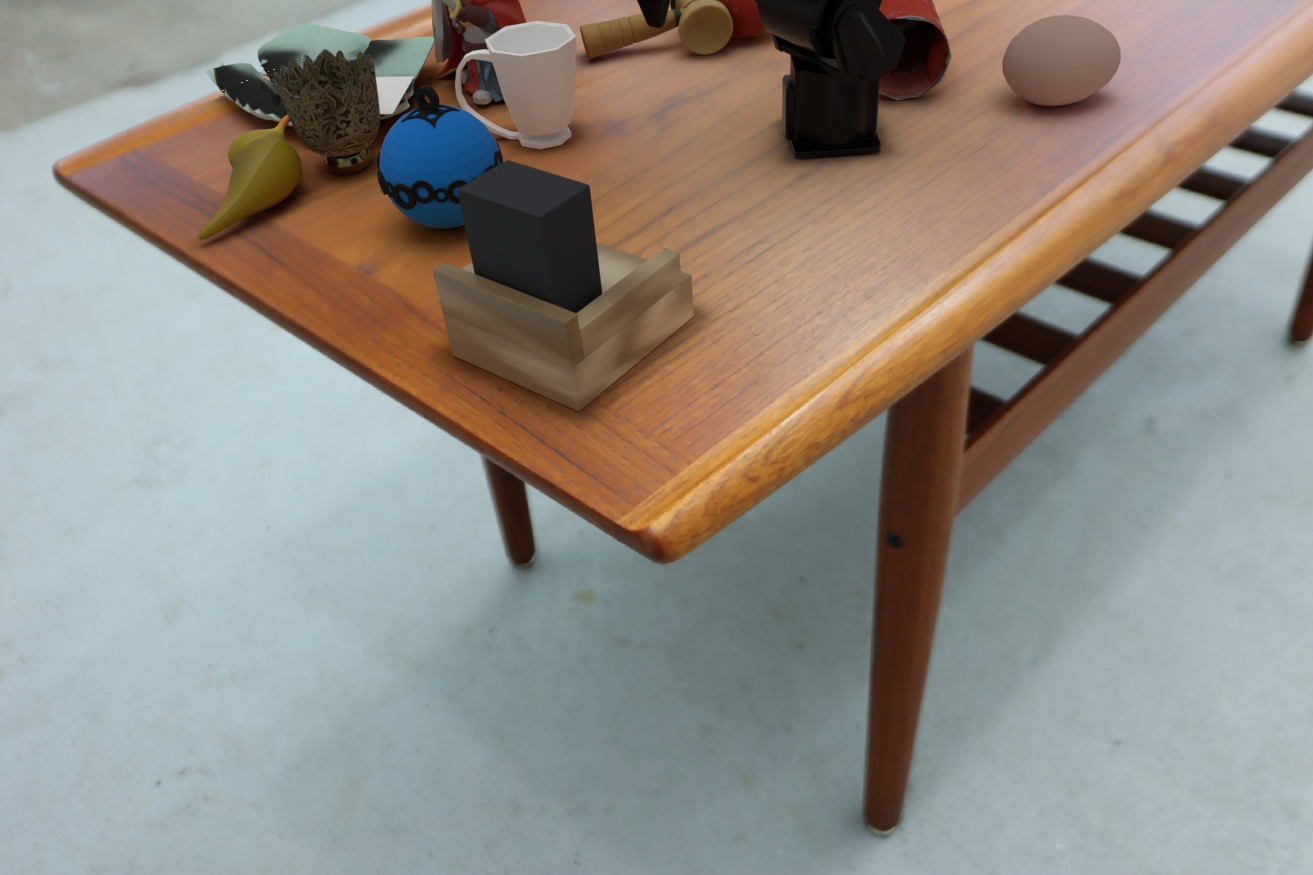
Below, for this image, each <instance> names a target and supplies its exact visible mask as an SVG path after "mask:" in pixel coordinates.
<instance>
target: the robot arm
mask: <svg viewBox="0 0 1313 875" xmlns="http://www.w3.org/2000/svg"><path fill="white" fill-rule="evenodd" d="M636 1H637V4H638V6H639V9H640V11H641V14H643V16H644V18H645V21H646V23H647V25H648V26H650V27H654V28H659V29H660V28H662V27H663V26H664V25H665V21H666V17H667V13H668V10H669V8H670V0H636ZM755 3H756V4H757V7H758V13H759V18H760V20H761V22H762V24H763V26H764V27H765V28H766V30H767V31H768V32H769V33H770V36H771V39H772V43H773V45H774V48H775V51H778V52H781V53H785V54H787V55H789V58H790V59H789V63H790V64H789V74H784V76H782V79H781V80H782V81H781V82H782V83H781V84H782V87H781V88H782V90H781V93H782V94H781V96H782V97H781V99H782V100H781V101H782V102H781V104H782V105H781V107H782V108H781V127H782V130H783V135H784V138H785V140H786V141H787V142H790V146H791V149H792V154H793V156H794V157H795V158H799V159H800V158H801V159H802V158H814V157H815V158H816V157H829V156H830V157H831V156H843V155H858V154H871V153H872V154H873V153H879V152H880V151H881V149H882V142H881V140H880V137H879V135H878V133H877V131H878V116H879V115H878V114H879V103H880V102H879V101H880V100H879V99H880V93H879V88H880V78H882V75H883V74H884V73H885V71H888V70H891V69H894V68H896V67H897V65H898V62H899V59H900V56H901V53H902V50H903V47H904V44H905V40H906V39H905V36H904V35H903V34H902V33H901V32H900V31H899V30H898V29H897V28H896V27H895V26H894V25H893V24H892V23H891V22H890V21H889V20H888V19H887V18H886V16H885V15H884V14H883V13H882V12H881V11H880V10H879V8H880V5H881V3H882V0H755Z"/></svg>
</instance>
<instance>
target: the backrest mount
mask: <svg viewBox="0 0 1313 875" xmlns="http://www.w3.org/2000/svg"><path fill="white" fill-rule="evenodd" d="M596 243H597V252H598V260H599V268H600V277H601V285H602V295H600V296H599V297H598V298H596V299H595V300H594V301H592V302H591V303H590V304H588V305H587V306H586V307H584V308H583V309H582V310H580V311H579V312H578V313H574V312H571V311H569V310H566V309H564V308H561V307H558V306H556V305H553V304H551V303H548V302H546V301H543V300H540V299H538V298H535V297H533V296H530V295H527V294H525V293H522V292H520V291H517V290H515V289H512V288H509V287H507V286H504V285H502V284H499V283H497V282H494V281H491V280H489V279H486V278H484V277H481V276H479V275H476V274H475V273H474V268H473V264H472V261H471V262H470V263H468V264H466V265H465V266H463V267H462V268H461V267H458V266H455V265H452V264H450V263H448V262H443V263H442V264H440V265H438V266H437V267H435V268H434V269H432V273H433V278H434V283H435V286H436V291H437V295H438V299H439V304H440V308H441V312H442V317H443V321H444V324H445V329H446V333H447V337H448V342H449V346H450V351H451V354H452V356H453V357H455V358H457V359H460V360H462V361H463V362H467V363H469V364H470V365H473V366H476V367H478V368H480V369H482V370H484V371H486V372H489V373H491V374H493V375H495V376H497V377H500V378H502V379H504V380H506V381H509V382H511V383H514V384H516V385H518V386H520V387H522V388H524V389H527V390H529V391H531V392H533V393H536V394H538V395H540V396H542V397H545V398H547V399H549V400H551V401H554V402H556V403H558V404H560V405H562V406H565V407H567V408H570V409H571V410H574V411H576V412H578V413H579V412H580V411H582V410H583V409H584V408H585V407H586V406H588V405H589V404H590V403H591V402H592V401H593V400H595V399H596V398H597V397H599V396H600V395H601V394H602V393H604V391H605V390H607V389H608V388H609V387H610V386H612V385H613V384H614V383H615V382H617V381H618V380H619V379H620V378H621V377H623V375H625V374H626V373H628V371H630V370H631V369H632V368H633V367H634V366H636V365H637V364H638V363H639V362H641V360H643V359H644V358H645V357H647V356H648V355H649V354H650V353H652V352H653V351H654V350H656V348H657V347H659V346H660V345H661V344H662V343H663V342H664V341H666V340H667V339H668V338H669V337H670V336H672V335H673V334H674V333H675V332H676V331H678V330H679V329H680V328H681V327H683V326H684V325H685V324H686V323H687V322H689V321H690V320H691V319H692V318H694V316H695V313H694V312H695V311H694V296H693V295H694V294H693V279H692V278H693V277H692V276H693V275H692V274H691V273H688V272H685V271H682V268H681V256H680V253H679V252H678V251H674V250H671V249H668V248H665V247H663V248H662V249H660V250H659V251H658V252H656V253H655V254H653V255H652V256H651V257H650V258H648V259H647V258H644V257H641V256H638V255H635V254H632V253H629V252H626V251H624V250H620V249H618V248H614V247H612V246H609V245H606V244H603V243H601V242H598V241H596Z"/></svg>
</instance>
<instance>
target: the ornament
mask: <svg viewBox="0 0 1313 875" xmlns="http://www.w3.org/2000/svg"><path fill="white" fill-rule="evenodd" d="M413 98H414V102H415V104H416V106H417V107H415V108H414V109H412V110H410V111H408V112H407V113H405V114H403V115H402V116H401V117H400V118H398V120H397V121H395V123H394V124H393V125H392V126H391V127H390V128H389V130H388V132H387V134H386V136H384V140H383V142H382V146H381V149H380V151H379V152H378V154H377V157H376V166H377V167H376V168H377V171H376V178H377V181H378V184H379V187H380V190H381V192H382V194H383V195H384V196H386V195H387V196H388V198H389V199H390V201H391V203H392V204H393V205H394V206H395V207H396V208H397V210H399V211H400V212H401V213H402V214H403V215H404V216H405V217H406V218H408V219H409V220H412V221H413V222H415V223H417V224H419V225H422V226H426V227H428V228H431V229H435V230H443V229H457V228H459V227H462V226H465V225H464V220H463V215H462V210H461V205H460V200H459V196H458V191H457V190H458V189H459V188H460V187H462V186H464V185H466V184H467V183H469V182H471V181H472V180H474V179H476V178H477V177H479V176H481V175H482V174H484V173H486V172H488V171H489V170H491V169H493V168H494V167H496V166H498V165H499V164H501V163H503V162H504V157H503V153H502V150H501V147H500V145H499V143H498V141H497V140H496V139H495V137H494V135H493V133H492V132H491V131H490V130H488V129H487V128H486V126H485V125H484V124H483V123H482V122H481V121H480V120H479V119H477V118H476V117H475V116H473V115H472V114H470V113H469V112H467V111H464V110H462V108H461V107H457V106H454V105H448V104H441V102H440V101H441V100H440V96H439V93H438V92H437V91H436V90H435V88H434V87H432V86H430V85H428V84H424V85H421V86H420V87H418V88H417V89H415V90H414V92H413ZM426 98H427V99H428V100H427V99H426Z"/></svg>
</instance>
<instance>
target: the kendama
mask: <svg viewBox="0 0 1313 875" xmlns="http://www.w3.org/2000/svg"><path fill="white" fill-rule="evenodd" d="M669 8H670V9H668V13H667V17H666V21H665V25H664V26H663V27H662V28H660V29H659V28H654V27H650V26H648V25H647V23H646V21H645V18H644V16H643V13H638V14H632V15H629V16H623V17H619V18H613V19H610V20H604V21H599V22H594V23H593V22H592V23H586V24H581V25H580V26H579V32H580V37H581V40H582V45H583V48H584V52H585V55H586V58H587V59H588V60H592V59H595V58H598V57H602V56H603V55H604V54H609V53H611V52H614V51H616V50H621V49H623V48H624V47H625V48H627V47H629V46H632V45H634V44H638V43H641V42H645V41H648V40H650V39H652V38H655V37H658V36H660V35H663V34H665V33H667V32H669V31H672V30H674V29H676V28H678V34H679V37H680V39H681V41H682V43H683V45H684V46H685V48H686V49H687V50H689V51H690V52H691V53H693V54H696V55H700V56H707V55H708V56H709V55H712V54H716V53H717V52H719V51H720V50H722V49H723V48H724V47H726V46H727V44H728V43H729V41H730V39H731V38H736V39H750V38H754V37H756V36H759V35H761V34H762V33H763V32H765V31H766V30H767V29H766V28H765V27H764V26H763V24H762V22H761V20H760V18H759V13H758V7H757V4H756V3H755V0H670V4H669Z"/></svg>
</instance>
